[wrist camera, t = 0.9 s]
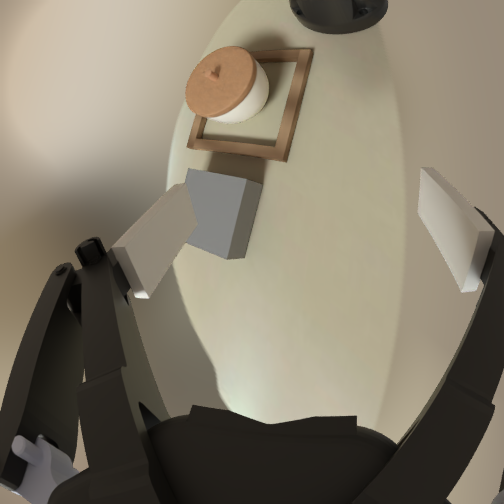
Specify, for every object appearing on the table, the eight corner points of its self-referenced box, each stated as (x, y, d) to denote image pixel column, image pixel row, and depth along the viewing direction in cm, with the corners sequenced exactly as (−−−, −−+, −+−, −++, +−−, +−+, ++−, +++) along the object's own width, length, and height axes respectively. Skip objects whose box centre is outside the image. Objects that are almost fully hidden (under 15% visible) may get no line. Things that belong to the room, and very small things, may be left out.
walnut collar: (219, 59, 40) (215, 56, 39) (313, 53, 32) (310, 49, 31) (191, 148, 43) (186, 147, 42) (286, 162, 35) (282, 159, 34)
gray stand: (206, 173, 41) (188, 168, 38) (263, 184, 37) (246, 179, 33) (191, 237, 43) (172, 237, 40) (244, 257, 38) (226, 259, 35)
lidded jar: (253, 60, 37) (217, 29, 29) (296, 95, 34) (262, 59, 25) (208, 107, 41) (166, 86, 33) (242, 148, 38) (198, 127, 30)
